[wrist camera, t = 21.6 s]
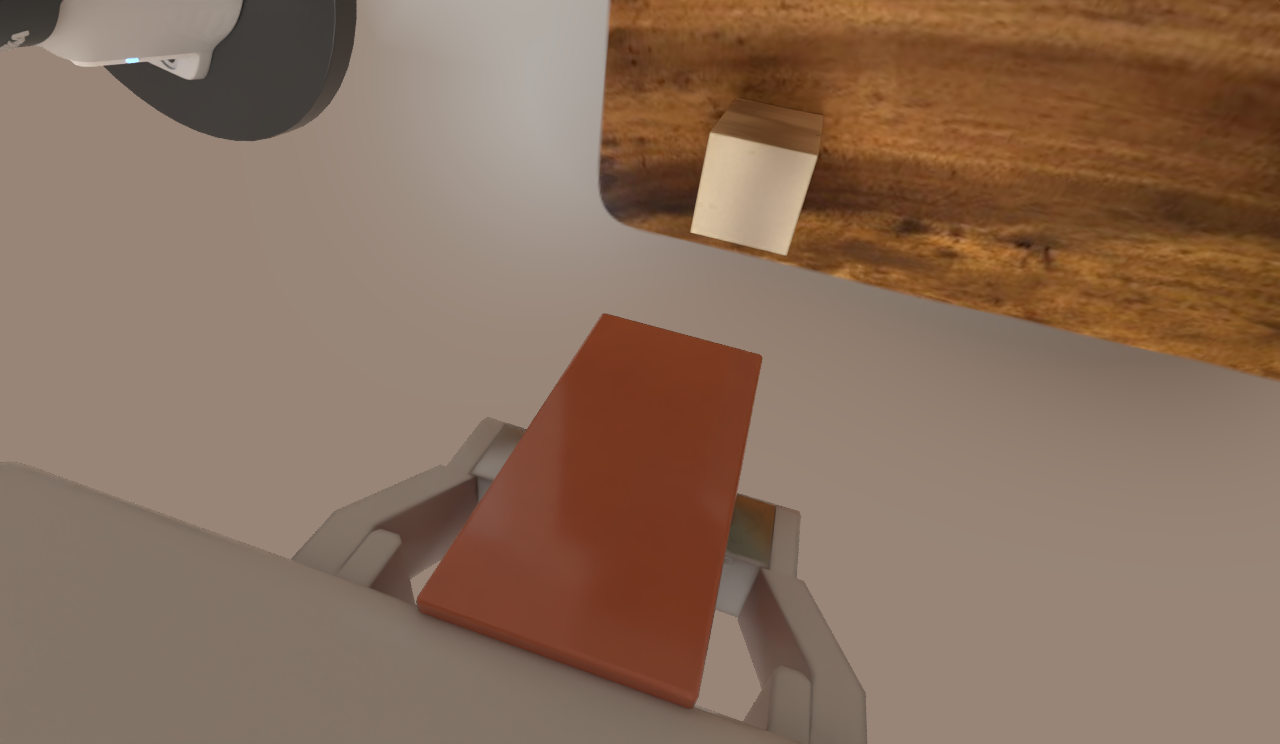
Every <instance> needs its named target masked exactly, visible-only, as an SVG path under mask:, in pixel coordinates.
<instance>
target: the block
mask: <svg viewBox="0 0 1280 744" xmlns="http://www.w3.org/2000/svg"><path fill="white" fill-rule="evenodd" d="M761 364H762V356H761V355H759V354H756V353H752V352H748V351H745V350H741V349H737V348H733V347H729V346H725V345H722V344H718V343H714V342H711V341H707V340H703V339H699V338H696V337H692V336H688V335H684V334H681V333H677V332H673V331H669V330H665V329H662V328H658V327H654V326H650V325H647V324H643V323H639V322H636V321H631V320H628V319H624V318H620V317H617V316H613V315H609V314H602V315H601V317H600V318H599V320H598V321H597V323H596V324H595V326H594V327H593V329H592V330H591V332H590V334H589V335H588V337H587V338H586V340H585V341H584V343H583V344H582V346H581V347H580V349H579V350H578V352H577V354H576V355H575V356H574V358H573V360H572V361H571V363H570V364H569V366H568V367H567V369H566V370H565V372H564V373H563V375H562V376H561V378H560V380H559V381H558V383H557V384H556V386H555V387H554V389H553V390H552V392H551V393H550V395H549V396H548V398H547V399H546V401H545V403H544V404H543V406H542V407H541V409H540V410H539V412H538V413H537V415H536V416H535V418H534V419H533V421H532V422H531V424H530V426H529V427H528V429H527V430H526V432H525V433H524V435H523V436H522V438H521V439H520V441H519V442H518V444H517V445H516V447H515V448H514V450H513V451H512V453H511V455H510V456H509V458H508V459H507V461H506V462H505V464H504V465H503V467H502V468H501V470H500V471H499V473H498V474H497V476H496V477H495V479H494V481H493V482H492V484H491V485H490V487H489V488H488V490H487V491H486V493H485V494H484V496H483V497H482V499H481V500H480V502H479V504H478V505H477V507H476V508H475V510H474V511H473V513H472V514H471V516H470V517H469V519H468V520H467V522H466V523H465V525H464V527H463V528H462V530H461V531H460V533H459V534H458V536H457V537H456V539H455V540H454V542H453V543H452V545H451V546H450V548H449V549H448V551H447V553H446V554H445V556H444V557H443V559H442V560H441V562H440V563H439V565H438V566H437V568H436V570H435V571H434V572H433V574H432V576H431V577H430V579H429V580H428V582H427V583H426V585H425V586H424V588H423V589H422V591H421V592H420V594H419V595H418V597H417V601H416V603H417V607H418V610H419V611H420V612H421V613H424V614H426V615H429V616H432V617H435V618H437V619H440V620H443V621H446V622H449V623H451V624H454V625H457V626H460V627H463V628H465V629H468V630H471V631H474V632H477V633H479V634H482V635H485V636H488V637H490V638H493V639H496V640H499V641H502V642H504V643H507V644H510V645H513V646H516V647H518V648H521V649H524V650H527V651H530V652H532V653H535V654H538V655H541V656H543V657H546V658H549V659H552V660H555V661H557V662H560V663H563V664H566V665H569V666H571V667H574V668H577V669H580V670H583V671H585V672H588V673H591V674H594V675H596V676H599V677H602V678H605V679H608V680H610V681H613V682H616V683H619V684H621V685H624V686H627V687H630V688H633V689H635V690H638V691H641V692H644V693H646V694H649V695H652V696H655V697H658V698H660V699H663V700H666V701H669V702H672V703H674V704H677V705H680V706H683V707H685V708H693V707H694V706H695V703H696V702H697V699H698V697H699V691H700V686H701V681H702V676H703V671H704V665H705V660H706V655H707V650H708V644H709V639H710V634H711V628H712V623H713V618H714V612H715V607H716V602H717V597H718V591H719V586H720V581H721V575H722V570H723V565H724V560H725V554H726V549H727V544H728V538H729V533H730V528H731V523H732V517H733V512H734V507H735V501H736V496H737V491H738V485H739V480H740V475H741V470H742V464H743V459H744V453H745V448H746V443H747V438H748V432H749V427H750V422H751V416H752V411H753V406H754V401H755V396H756V390H757V385H758V380H759V375H760V369H761Z"/></svg>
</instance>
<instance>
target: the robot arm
mask: <svg viewBox="0 0 1280 744" xmlns="http://www.w3.org/2000/svg"><path fill="white" fill-rule="evenodd" d="M242 4H243V0H0V51H7V50H9V49H14V48H16V47H25V46H32V45H36V46H41V47H43V48H44V49H46V50H48V51H49V52H51V53H53V54H55V55H57V56H59V57H61V58H64V59H69V60H71V61H72V62H73V63H74V64H75V65H78V66H85V67H93V66H105V65H116V64H126V63H137V62H149V63H151V64H153V65H156V66H158V67H160V68H162V69H164V70H167V71H169V72H171V73H173V74H175V75H177V76H180V77H182V78H184V79H188V80H195V79H203V78H205V77H206V75H207V73H208V71H209V68H210V64H211V59H212V54H213V50H214V49H215V47H216V46H217V45H218V44H219V43H220V42H221V41H222V40H223V39H224V38H226V37H227V36H228V35H229V33H230V32H231V31H232V30H233V28H234V26H235V25H236V23H237V21H238V18H239V15H240V12H241V9H242ZM526 430H527V429H524V428H521V427H517V426H515V425H511V424H507V423H504V422H501V421H498V420H495V419H492V418H489V417H487V418H485V419H484V420H482V421H481V422H480V423H479V425H478V426H477V427H476V429H475V430H474V431H473V433H472V434H471V435H470V436H469V438H468V439H467V441H466V442H465V443H464V444H463V446H462V447H461V448H460V450H459V451H458V452H457V453H456V455H455V456H454V457H453V459H452V460H451V461H450V462H449V464H448V465H447V466H446V467H445V466H442V465H439V466H436V467H434V468H432V469H430V470H427V471H425V472H423V473H420V474H418V475H416V476H414V477H411V478H409V479H407V480H405V481H402V482H400V483H398V484H395V485H393V486H391V487H388V488H386V489H384V490H382V491H379V492H377V493H375V494H373V495H370V496H368V497H366V498H364V499H361V500H359V501H357V502H354V503H352V504H350V505H347V506H345V507H343V508H341V509H338V510H336V511H335V512H334V513H333V514H332V515H331V516H330V517H329V518H328V519H327V520H326V521H325V523H324V524H323V525H322V526H321V527H320V528H319V529H318V530H317V531H316V532H315V534H313V536H312V537H311V538H310V539H309V540H308V541H307V542H306V543H305V544H304V545H303V547H302V548H301V549H300V550H299V551H298V552H297V553H296V555H295V556H293V558H292V559H291V560H290V559H287V558H285V557H282V556H279V555H276V554H273V553H270V552H268V551H265V550H262V549H259V548H257V547H254V546H251V545H248V544H246V543H243V542H240V541H237V540H235V539H232V538H229V537H226V536H223V535H221V534H218V533H215V532H212V531H210V530H207V529H204V528H201V527H198V526H195V525H193V524H190V523H187V522H184V521H182V520H179V519H176V518H173V517H171V516H168V515H165V514H162V513H160V512H156V511H154V510H151V509H148V508H146V507H143V506H140V505H137V504H134V503H132V502H129V501H126V500H123V499H121V498H118V497H115V496H112V495H110V494H107V493H104V492H101V491H98V490H96V489H93V488H90V487H87V486H84V485H82V484H79V483H76V482H73V481H71V480H68V479H65V478H62V477H60V476H57V475H54V474H51V473H49V472H46V471H43V470H41V469H38V468H35V467H32V466H29V465H26V464H22V463H17V462H0V744H867V725H866V695H865V691H864V689H863V688H862V686H861V684H860V682H859V680H858V678H857V677H856V675H855V673H854V671H853V670H852V667H851V666H850V664H849V662H848V660H847V658H846V657H845V655H844V653H843V651H842V649H841V648H840V646H839V644H838V642H837V640H836V639H835V637H834V635H833V633H832V631H831V629H830V628H829V626H828V624H827V622H826V620H825V619H824V617H823V615H822V613H821V611H820V610H819V608H818V606H817V604H816V602H815V601H814V599H813V597H812V595H811V593H810V592H809V590H808V588H807V586H806V584H805V583H804V581H802V580H799V579H797V565H798V564H797V563H798V550H799V549H798V548H799V534H800V520H801V516H800V513H799V511H796V510H793V509H789V508H786V507H782V506H779V505H774V504H773V503H770V502H766V501H763V500H759V499H756V498H752V497H749V496H745V495H742V494H739V493H737V496H736V501H735V507H734V512H733V517H732V523H731V528H730V533H729V538H728V544H727V549H726V554H725V560H724V565H723V570H722V575H721V581H720V586H719V591H718V597H717V602H716V607H715V610H719V611H721V612H724V613H727V614H729V615H732V616H735V617H738V622H739V625H740V628H741V631H742V634H743V637H744V639H745V642H746V645H747V648H748V651H749V654H750V656H751V659H752V662H753V665H754V668H755V671H756V674H757V676H758V679H759V682H760V685H761V688H762V691H761V693H760V694H759V696H758V698H757V699H756V701H755V702H754V704H753V706H752V708H751V709H750V711H749V712H748V714H747V716H746V717H745V719H744V721H743V722H742V721H739V720H736V719H733V718H730V717H728V716H725V715H722V714H720V713H717V712H714V711H711V710H708V709H706V708H703V707H700V706H697V705H695V706H694V707H693V708H685V707H683V706H680V705H677V704H674V703H672V702H669V701H666V700H663V699H660V698H658V697H655V696H652V695H649V694H646V693H644V692H641V691H638V690H635V689H633V688H630V687H627V686H624V685H621V684H619V683H616V682H613V681H610V680H608V679H605V678H602V677H599V676H596V675H594V674H591V673H588V672H585V671H583V670H580V669H577V668H574V667H571V666H569V665H566V664H563V663H560V662H557V661H555V660H552V659H549V658H546V657H543V656H541V655H538V654H535V653H532V652H530V651H527V650H524V649H521V648H518V647H516V646H513V645H510V644H507V643H504V642H502V641H499V640H496V639H493V638H490V637H488V636H485V635H482V634H479V633H477V632H474V631H471V630H468V629H465V628H463V627H460V626H457V625H454V624H451V623H449V622H446V621H443V620H440V619H437V618H435V617H432V616H429V615H426V614H424V613H421V612H420V611H419V610H418V607H417V605H416V604H415V602H414V597H413V593H412V588H411V583H410V579H412V578H413V577H415V576H416V575H418V574H419V573H421V572H422V571H424V570H425V569H427V568H429V567H430V566H432V565H433V564H434V563H436V562H438V561H439V560H441V559H442V558H443V557H444V556H445V554H446V553H447V551H448V549H449V548H450V546H451V545H452V543H453V542H454V540H455V539H456V537H457V536H458V534H459V533H460V531H461V530H462V528H463V527H464V525H465V523H466V522H467V520H468V519H469V517H470V516H471V514H472V513H473V511H474V510H475V508H476V507H477V505H478V504H479V502H480V500H481V499H482V497H483V496H484V494H485V493H486V491H487V490H488V488H489V487H490V485H491V484H492V482H493V481H494V479H495V477H496V476H497V474H498V473H499V471H500V470H501V468H502V467H503V465H504V464H505V462H506V461H507V459H508V458H509V456H510V455H511V453H512V451H513V450H514V448H515V447H516V445H517V444H518V442H519V441H520V439H521V438H522V436H523V435H524V433H525V432H526Z"/></svg>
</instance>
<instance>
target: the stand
mask: <svg viewBox="0 0 1280 744" xmlns="http://www.w3.org/2000/svg"><path fill="white" fill-rule="evenodd" d="M823 119H824V116H823V115H818V114H813V113H808V112H804V111H799V110H794V109H789V108H784V107H779V106H775V105H770V104H765V103H760V102H755V101H750V100H745V99H741V98H736V99H735V100H734V101H733V103H732V104H731V105H730V107H729V108H728V109H727V110H726V112H725V113H724V114H723V116H722V117H721V118H720V120H719V121H718V122H717V124H716V125H715V126H714V127H713V129H712V130H711V131H710V133H709V138H708V143H707V148H706V154H705V159H704V164H703V169H702V174H701V179H700V184H699V189H698V194H697V200H696V205H695V210H694V215H693V220H692V225H691V230H690V232H691V233H695V234H699V235H703V236H707V237H711V238H716V239H720V240H724V241H728V242H732V243H736V244H740V245H744V246H748V247H752V248H756V249H761V250H765V251H769V252H773V253H777V254H781V255H785V256H786V255H787V253H788V250H789V247H790V243H791V240H792V237H793V234H794V231H795V228H796V224H797V221H798V218H799V215H800V212H801V209H802V205H803V202H804V199H805V196H806V193H807V190H808V186H809V183H810V180H811V177H812V174H813V171H814V167H815V164H816V161H817V158H818V153H819V146H820V139H821V132H822V126H823Z"/></svg>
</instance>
